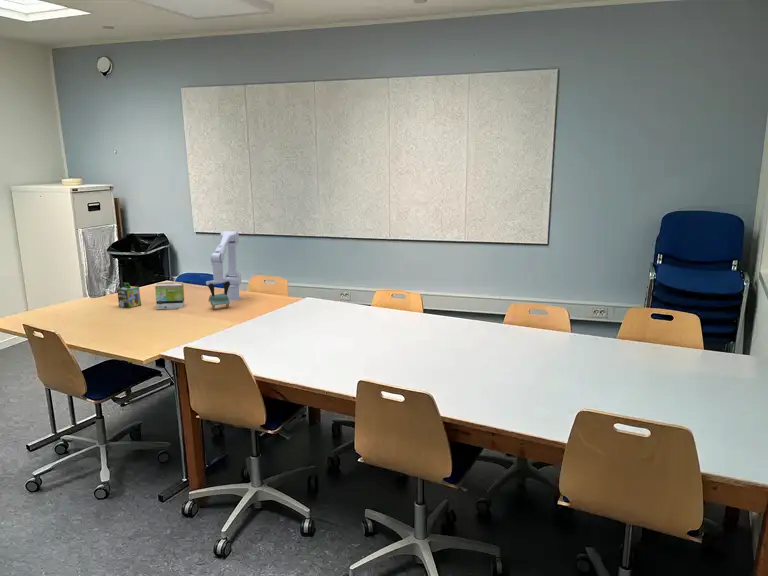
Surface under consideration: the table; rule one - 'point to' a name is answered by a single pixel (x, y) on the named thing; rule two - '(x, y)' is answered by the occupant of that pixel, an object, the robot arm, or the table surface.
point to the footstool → (219, 300)
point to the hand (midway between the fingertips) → (219, 295)
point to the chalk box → (128, 296)
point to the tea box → (169, 295)
